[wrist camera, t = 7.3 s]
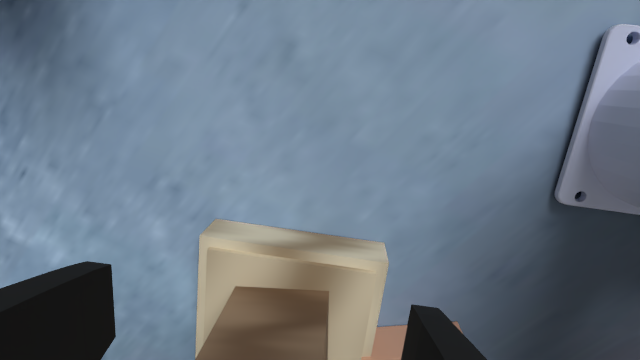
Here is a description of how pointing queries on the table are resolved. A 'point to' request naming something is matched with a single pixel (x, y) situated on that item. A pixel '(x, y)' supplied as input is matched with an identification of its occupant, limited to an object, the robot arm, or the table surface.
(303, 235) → the birch plinth
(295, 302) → the walnut block
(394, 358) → the salmon pink slab
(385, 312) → the table surface
